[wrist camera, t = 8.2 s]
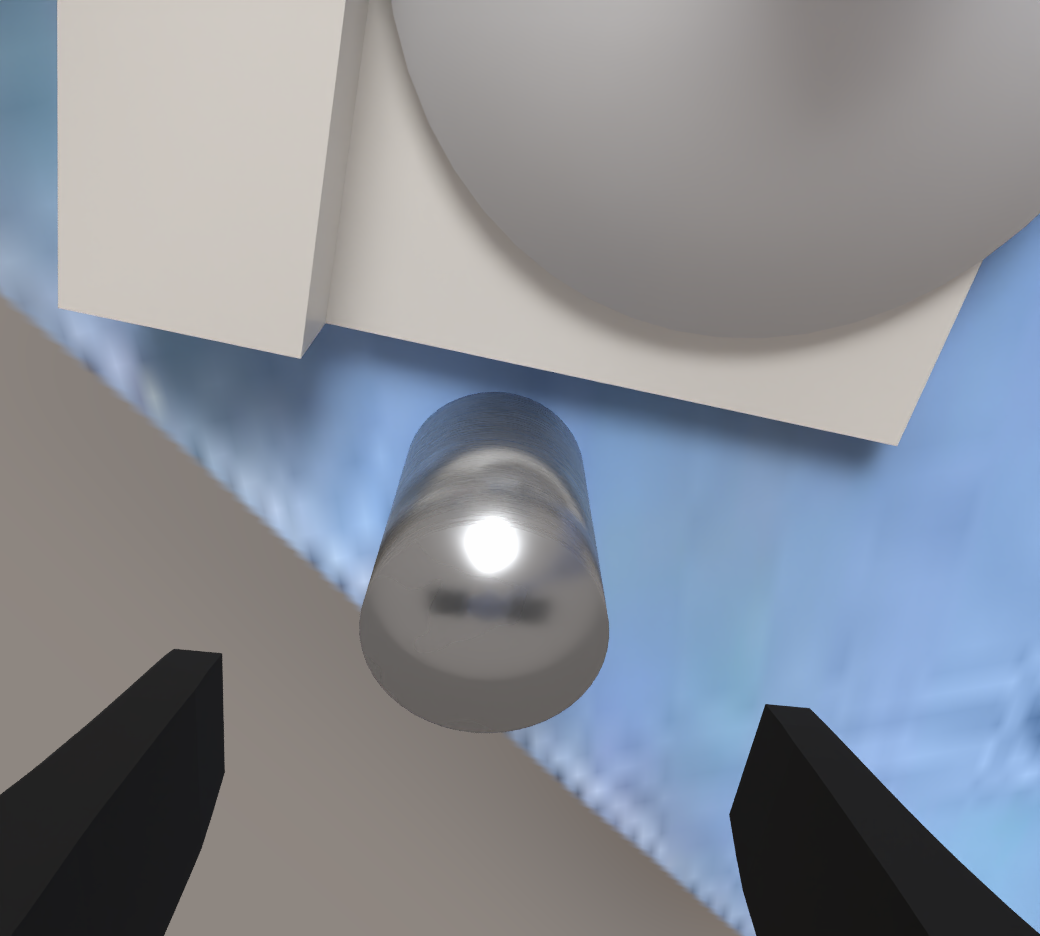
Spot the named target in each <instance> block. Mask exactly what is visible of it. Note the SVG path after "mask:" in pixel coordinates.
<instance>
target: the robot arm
mask: <svg viewBox="0 0 1040 936" xmlns="http://www.w3.org/2000/svg"><path fill="white" fill-rule="evenodd" d="M224 773H225V769H224V721H223V675H222V654H221V653H212V652H201V651H191V650H180V649H173V650H172V651H170V652H169V653H168V654H166V655H165V656H164V657H163V658H162V659H160V660H159V661H158V662H157V663H156V664H155V665H154V666H153V667H151V668H150V669H149V670H148V671H147V672H146V673H145V674H144V675H143V676H141V677H140V678H139V679H138V680H137V681H136V682H135V683H134V684H133V685H132V686H130V687H129V688H128V689H127V690H126V691H125V692H124V693H122V694H121V695H120V696H119V697H118V698H117V699H116V700H115V701H114V702H112V703H111V704H110V705H109V706H108V707H107V708H105V709H104V710H103V711H102V712H101V713H100V714H99V715H98V716H96V717H95V718H94V719H93V720H92V721H91V722H89V723H88V724H87V725H86V726H85V727H83V728H82V729H81V730H80V731H79V732H78V733H77V734H75V735H74V736H73V737H72V738H70V739H69V740H68V741H67V742H66V743H64V744H63V745H62V746H61V747H60V748H59V749H57V750H56V751H55V752H54V753H52V754H51V755H50V756H49V757H48V758H46V759H45V760H44V761H43V762H42V763H40V764H39V765H38V766H37V767H35V768H34V769H33V770H32V771H30V772H29V773H28V774H27V775H25V776H24V777H23V778H21V779H20V780H19V781H18V782H16V783H15V784H14V785H12V786H11V787H10V788H8V789H7V790H6V791H5V792H3V793H2V794H1V795H0V936H164V934H165V932H166V930H167V927H168V925H169V923H170V920H171V918H172V916H173V914H174V911H175V909H176V907H177V904H178V902H179V900H180V897H181V895H182V893H183V891H184V888H185V886H186V884H187V881H188V879H189V877H190V874H191V872H192V870H193V867H194V865H195V863H196V860H197V858H198V855H199V853H200V851H201V848H202V845H203V842H204V839H205V836H206V832H207V829H208V826H209V823H210V820H211V817H212V813H213V810H214V806H215V803H216V800H217V797H218V793H219V790H220V786H221V783H222V780H223V776H224ZM729 815H730V821H731V827H732V833H733V839H734V845H735V851H736V857H737V862H738V868H739V873H740V878H741V883H742V888H743V892H744V896H745V899H746V903H747V906H748V909H749V913H750V916H751V919H752V923H753V926H754V929H755V932H756V936H1040V934H1039V933H1038V932H1037V931H1036V930H1035V929H1033V928H1032V927H1031V926H1030V925H1029V924H1028V923H1027V922H1025V921H1024V920H1023V919H1022V918H1021V917H1020V916H1018V915H1017V914H1016V913H1015V912H1014V911H1013V910H1012V909H1011V908H1009V907H1008V906H1007V905H1006V904H1005V903H1004V902H1003V901H1002V900H1001V899H1000V898H999V897H997V896H996V895H995V894H994V893H993V892H992V891H991V890H990V889H989V888H988V887H987V886H986V885H985V884H983V883H982V882H981V881H980V880H979V879H978V878H977V877H976V876H975V875H974V874H973V873H972V872H970V871H969V870H968V869H967V868H966V867H965V866H964V865H963V864H962V863H961V862H960V861H959V860H958V859H957V858H956V857H955V856H954V855H953V854H952V853H951V852H950V851H948V850H947V849H946V848H945V847H944V846H943V845H942V844H941V843H940V842H939V841H938V840H937V839H936V838H935V837H934V836H933V835H932V834H931V833H930V832H929V831H928V830H927V829H926V828H925V827H924V826H923V825H922V824H921V823H920V822H919V821H918V820H917V819H916V818H915V817H914V816H913V815H912V814H911V813H910V812H909V811H908V810H907V809H906V808H905V807H904V806H903V805H902V804H901V802H900V801H899V800H898V799H897V798H896V797H895V796H894V795H893V794H892V793H891V792H890V791H889V790H888V789H887V788H886V787H885V786H884V785H883V784H882V783H881V782H880V781H879V780H878V779H877V778H876V776H875V775H874V774H873V773H872V772H871V771H870V770H869V769H868V768H867V767H866V766H865V765H864V764H863V763H862V762H861V761H860V760H859V759H858V758H857V756H856V755H855V754H854V753H853V752H852V751H851V750H850V749H849V748H848V747H847V746H846V745H845V744H844V743H843V742H842V741H841V740H840V739H839V738H838V737H837V735H836V734H835V733H834V732H833V731H832V730H831V729H830V728H829V727H828V726H827V725H826V724H825V723H824V722H823V721H822V720H821V719H820V718H819V717H818V716H817V715H816V714H815V713H814V712H813V711H812V710H811V709H810V708H801V707H790V706H779V705H769V704H765V707H764V710H763V714H762V717H761V720H760V723H759V726H758V729H757V732H756V735H755V738H754V741H753V744H752V747H751V750H750V753H749V756H748V759H747V762H746V765H745V768H744V771H743V774H742V777H741V781H740V784H739V787H738V790H737V793H736V796H735V799H734V802H733V805H732V808H731V811H730V814H729Z"/></svg>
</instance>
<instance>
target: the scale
mask: <svg viewBox="0 0 1040 936" xmlns="http://www.w3.org/2000/svg"><path fill="white" fill-rule="evenodd" d="M57 74H58V308H61V309H66V310H70V311H75V312H80V313H85V314H90V315H94V316H99V317H104V318H109V319H113V320H118V321H123V322H128V323H132V324H137V325H142V326H147V327H151V328H156V329H161V330H166V331H171V332H175V333H180V334H185V335H190V336H194V337H199V338H204V339H209V340H213V341H218V342H223V343H228V344H233V345H237V346H242V347H247V348H252V349H256V350H261V351H266V352H271V353H275V354H280V355H285V356H290V357H295V358H299V359H301V358H302V356H303V355H304V353H305V352H306V351H307V349H308V348H309V346H310V345H311V343H312V342H313V340H314V339H315V338H316V336H317V335H318V333H319V332H320V330H321V329H322V327H323V326H324V325H325V323H327V324H332V325H336V326H341V327H346V328H350V329H355V330H360V331H364V332H369V333H374V334H378V335H383V336H388V337H392V338H397V339H402V340H406V341H411V342H415V343H420V344H425V345H429V346H434V347H439V348H443V349H448V350H453V351H457V352H462V353H467V354H471V355H476V356H481V357H485V358H490V359H494V360H499V361H504V362H508V363H513V364H518V365H522V366H527V367H532V368H536V369H541V370H546V371H550V372H555V373H560V374H564V375H569V376H574V377H578V378H583V379H587V380H592V381H597V382H601V383H606V384H611V385H615V386H620V387H625V388H629V389H634V390H639V391H643V392H648V393H653V394H657V395H662V396H666V397H671V398H676V399H680V400H685V401H690V402H694V403H699V404H704V405H708V406H713V407H718V408H722V409H727V410H732V411H736V412H741V413H745V414H750V415H755V416H759V417H764V418H769V419H773V420H778V421H783V422H787V423H792V424H797V425H801V426H806V427H811V428H815V429H820V430H825V431H829V432H834V433H838V434H843V435H848V436H852V437H857V438H862V439H866V440H871V441H876V442H880V443H885V444H890V445H894V446H897V445H898V443H899V441H900V439H901V437H902V434H903V432H904V430H905V428H906V426H907V424H908V421H909V419H910V417H911V415H912V413H913V411H914V408H915V406H916V404H917V402H918V400H919V398H920V395H921V393H922V391H923V389H924V387H925V385H926V382H927V380H928V378H929V376H930V374H931V371H932V369H933V367H934V365H935V363H936V361H937V358H938V356H939V354H940V352H941V350H942V348H943V345H944V343H945V341H946V339H947V337H948V335H949V332H950V330H951V328H952V326H953V324H954V322H955V319H956V317H957V315H958V313H959V311H960V309H961V306H962V304H963V302H964V300H965V298H966V296H967V293H968V291H969V289H970V287H971V285H972V283H973V280H974V278H975V276H976V274H977V272H978V269H979V267H980V265H981V263H982V261H983V259H985V258H986V257H987V256H989V255H990V254H991V253H992V252H994V251H995V250H996V249H997V248H999V247H1000V246H1001V245H1003V244H1004V243H1005V242H1006V241H1008V240H1009V239H1010V238H1012V237H1013V236H1014V235H1015V234H1017V233H1018V232H1019V231H1020V230H1022V229H1023V228H1024V227H1026V226H1027V225H1028V224H1029V223H1030V222H1031V221H1032V220H1033V219H1034V218H1035V217H1036V216H1037V215H1038V214H1039V213H1040V0H57Z"/></svg>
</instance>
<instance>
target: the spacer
mask: <svg viewBox="0 0 1040 936" xmlns="http://www.w3.org/2000/svg"><path fill="white" fill-rule="evenodd" d="M359 626H360V641H361V647H362V651H363V654H364V657H365V660H366V663H367V665H368V666H369V668H370V670H371V672H372V674H373V676H374V677H375V679H376V680H377V682H378V683H379V684H380V686H381V687H382V688H383V689H384V690H385V691H386V692H387V693H388V695H389V696H390V697H391V698H393V699H394V700H395V701H396V702H397V703H399V704H400V705H401V706H402V707H404V708H406V709H407V710H408V711H410V712H411V713H413V714H415V715H417V716H419V717H421V718H423V719H425V720H427V721H429V722H432V723H434V724H437V725H440V726H443V727H447V728H450V729H455V730H459V731H467V732H475V733H497V732H507V731H513V730H519V729H522V728H526V727H530V726H533V725H536V724H538V723H541V722H543V721H546V720H548V719H550V718H552V717H554V716H555V715H557V714H559V713H561V712H562V711H564V710H565V709H566V708H568V707H569V706H571V705H572V704H573V703H574V702H575V701H576V700H578V699H579V698H580V697H581V696H582V695H583V694H584V693H585V691H586V690H587V689H588V688H589V687H590V686H591V684H592V683H593V681H594V680H595V678H596V677H597V675H598V673H599V671H600V669H601V667H602V664H603V662H604V659H605V656H606V652H607V648H608V640H609V621H608V615H607V609H606V603H605V597H604V590H603V584H602V578H601V572H600V566H599V560H598V553H597V547H596V541H595V535H594V529H593V523H592V516H591V510H590V504H589V498H588V492H587V486H586V480H585V473H584V467H583V462H582V456H581V453H580V450H579V447H578V444H577V442H576V440H575V438H574V436H573V434H572V433H571V432H570V430H569V429H568V427H567V426H566V425H565V424H564V423H563V422H562V420H561V419H560V418H559V417H558V416H556V415H555V414H554V413H553V412H552V411H550V410H549V409H547V408H546V407H544V406H543V405H541V404H539V403H537V402H535V401H533V400H531V399H529V398H525V397H522V396H519V395H515V394H510V393H501V392H486V393H477V394H472V395H468V396H465V397H462V398H459V399H456V400H454V401H452V402H450V403H448V404H446V405H445V406H443V407H442V408H440V409H438V410H437V411H436V412H435V413H434V414H432V415H431V416H430V417H429V418H428V419H427V420H426V421H425V422H424V423H423V425H422V426H421V427H420V429H419V430H418V432H417V433H416V435H415V437H414V439H413V441H412V443H411V445H410V448H409V452H408V455H407V458H406V462H405V465H404V468H403V472H402V475H401V478H400V482H399V485H398V488H397V492H396V495H395V498H394V502H393V505H392V508H391V512H390V515H389V518H388V522H387V525H386V528H385V532H384V535H383V538H382V542H381V545H380V548H379V552H378V555H377V559H376V562H375V565H374V569H373V572H372V575H371V579H370V582H369V585H368V589H367V592H366V595H365V599H364V602H363V605H362V609H361V615H360V622H359Z"/></svg>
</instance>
